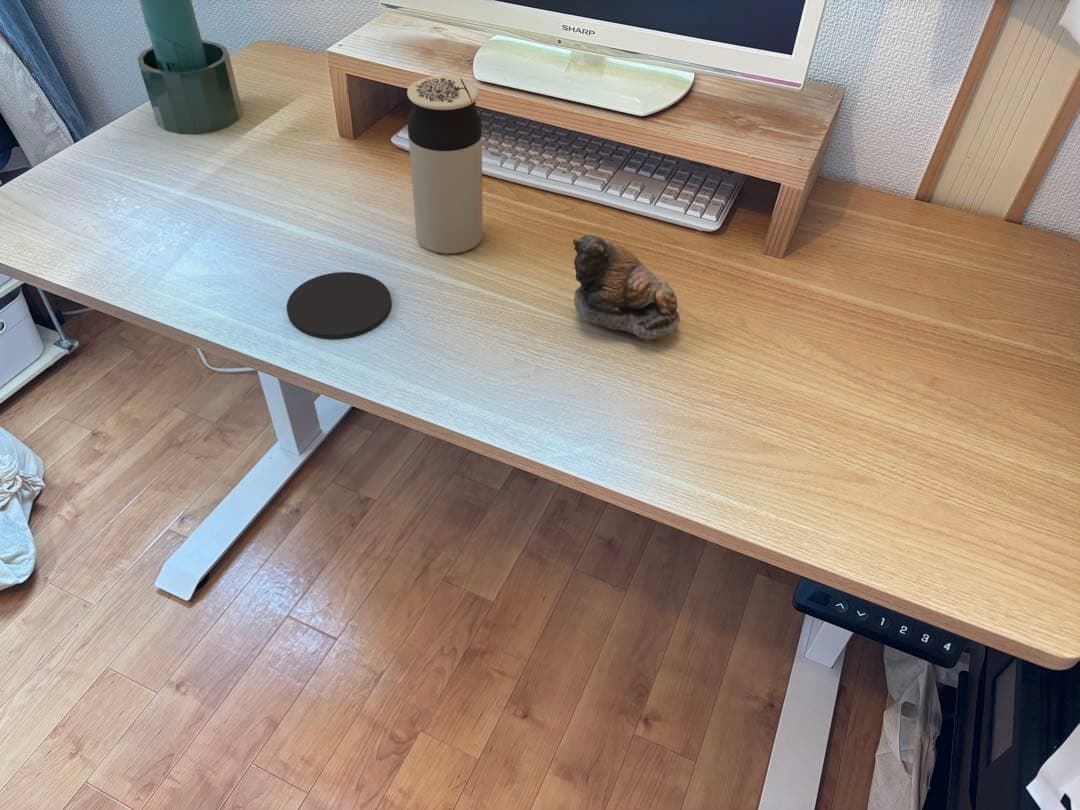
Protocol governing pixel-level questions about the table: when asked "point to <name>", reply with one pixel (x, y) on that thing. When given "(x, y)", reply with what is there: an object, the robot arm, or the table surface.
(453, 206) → the travel mug
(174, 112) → the pot
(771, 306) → the table surface
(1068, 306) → the table surface
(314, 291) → the coaster
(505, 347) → the table surface
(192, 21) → the beverage bottle
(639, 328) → the bison figurine
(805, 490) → the table surface
